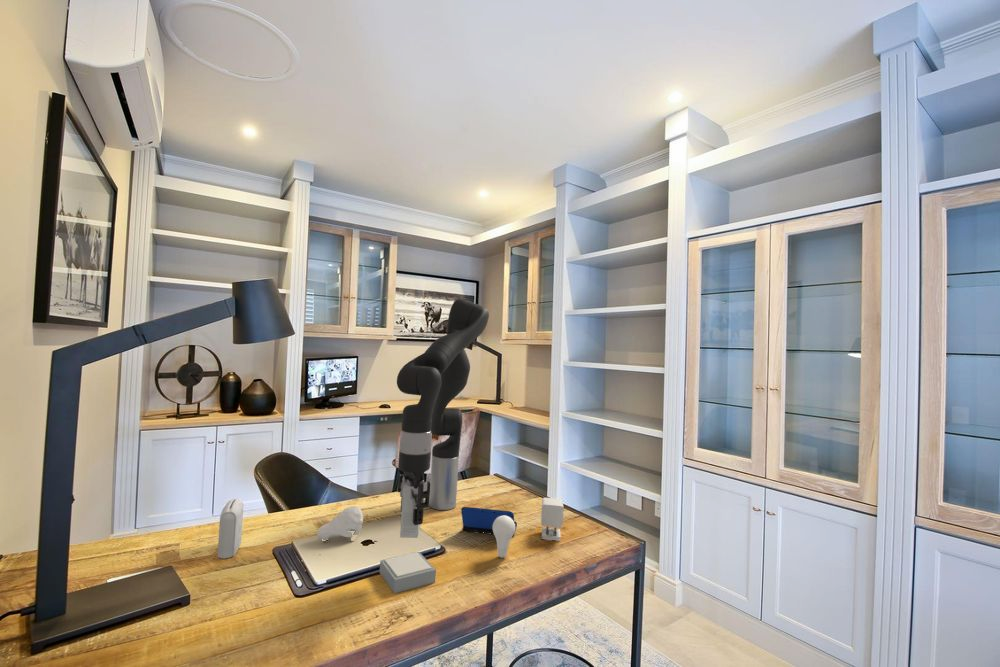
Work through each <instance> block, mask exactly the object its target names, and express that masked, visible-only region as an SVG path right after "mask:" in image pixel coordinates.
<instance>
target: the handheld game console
mask: <svg viewBox="0 0 1000 667" xmlns="http://www.w3.org/2000/svg"><path fill="white" fill-rule="evenodd" d="M460 512H461V519H462V532H464V531H465V532H466V531H467V532H466V533H474V532H478V533H477V534H488V533H491V534H490V535H492V534H494V533H493V529H492V528H493V523H494V521H495V519H496V518H498V517H499V516H503V515H505V516H508V517H510V518H511V519H512V520H513V521H514V523H515V531H516V530H517V527H518V526H517V525H518V522H517V521H515V514H514V513H513V511H509V510H502V509H501V510H500V509H490V508H481V507H480V508H479V507H469V506H463V507H461V509H460ZM465 532H464V533H465ZM483 532H484V533H483ZM515 534H516V532H515V533H514V535H513V536H514V537H515ZM513 536H512V538H514V537H513Z"/></svg>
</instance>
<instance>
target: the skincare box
mask: <svg viewBox="0 0 1000 667" xmlns="http://www.w3.org/2000/svg"><path fill="white" fill-rule="evenodd" d="M411 488H412V489H413V492H414V494H418V489H415V488H414V487H413V486H412V487H410V486H408V485H407V482H405V483H404V485H403V493H402V497H401V498H402V511H401V510H400V514H401V515H400V531H399V537H400V538H401V539H403V538H404V539H406V538H407V539H409V538H410V539H417V538H419V537H418V536H419V534H420V531H421V530H420V529H421V524H419V525H414V524H413V510H414V506H413V500H412V499H411V498H410V494H411ZM417 488H418V487H417ZM416 499H417V498H416Z"/></svg>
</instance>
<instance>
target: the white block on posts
mask: <svg viewBox="0 0 1000 667" xmlns="http://www.w3.org/2000/svg"><path fill="white" fill-rule="evenodd" d="M540 514H541V517H540V518H541V519H540V522H541V523H540V524H541V526H543V527H542V528H541V540H542V539H547V540H546V541H552V540H556V541H555V542H561V539H562V538H561V537H562V536H561V529H560V528H562V527H563V525H564V502H563V499H561V498H556V497H555V498H554V497H543V498H542V500H541V513H540Z"/></svg>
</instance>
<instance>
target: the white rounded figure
mask: <svg viewBox="0 0 1000 667" xmlns="http://www.w3.org/2000/svg"><path fill="white" fill-rule="evenodd" d="M363 515H364V513H363V511H362V508H361V507H360V506H349V507H348V506H347V507H346V508H344V509H343V510H341V511H340V512H339V513H338V514H337V515H336V516H335V517H333V519H332V520H331V521H329V522H328V523H325V524H323V525H321V526H320V527H319V528H317V529H318V530H317V537H318V539H320V540H321V539H323V540H327V539H328V538H329V539H330V538H331V537H345V538H351V537H352V533H351V532H348V531H349V530H350V531H355V532H354V534H353V535H359V536H360V534H361V531H362V525H363V523H364V516H363ZM329 539H328V541H327V542H329V541H330V540H329Z"/></svg>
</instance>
